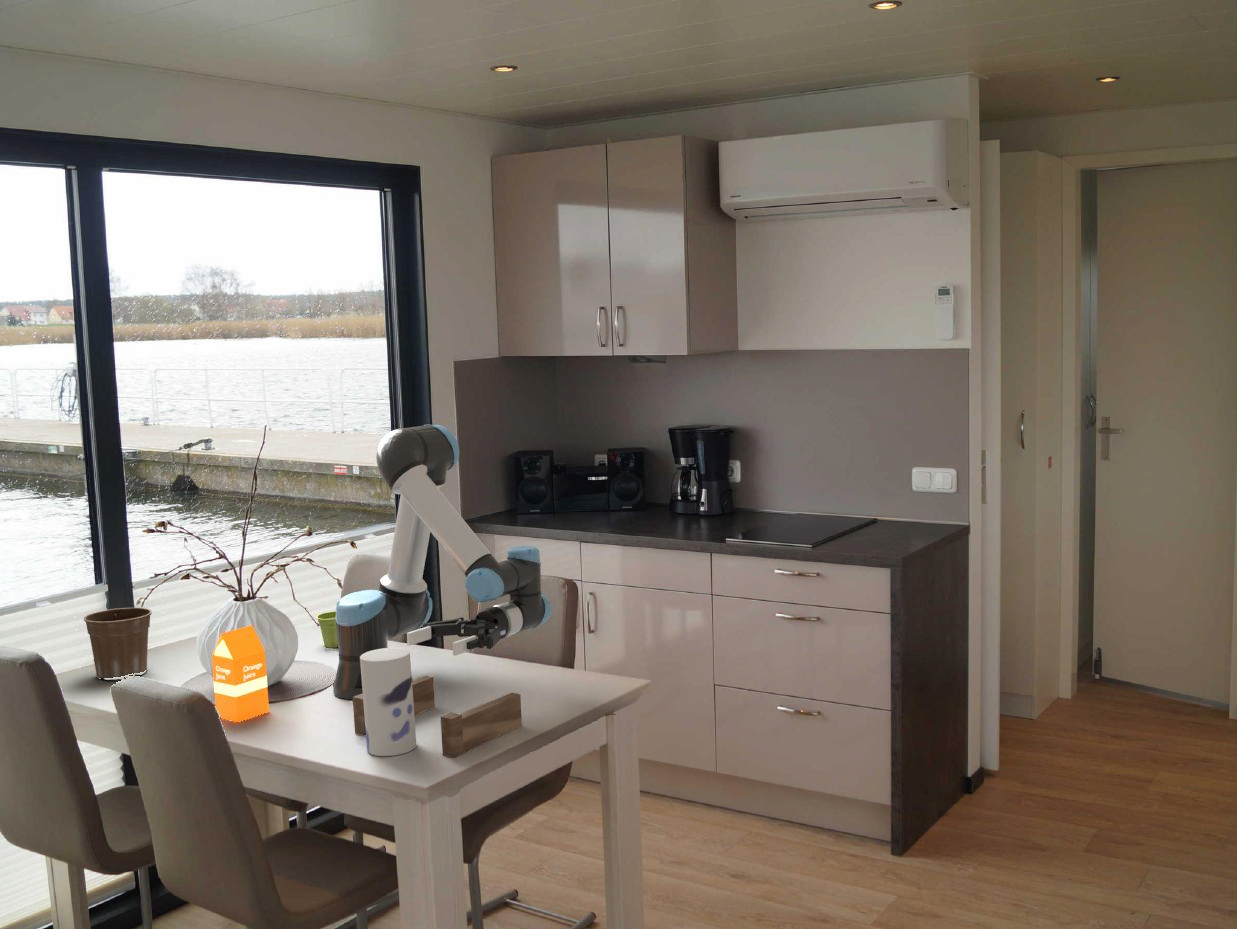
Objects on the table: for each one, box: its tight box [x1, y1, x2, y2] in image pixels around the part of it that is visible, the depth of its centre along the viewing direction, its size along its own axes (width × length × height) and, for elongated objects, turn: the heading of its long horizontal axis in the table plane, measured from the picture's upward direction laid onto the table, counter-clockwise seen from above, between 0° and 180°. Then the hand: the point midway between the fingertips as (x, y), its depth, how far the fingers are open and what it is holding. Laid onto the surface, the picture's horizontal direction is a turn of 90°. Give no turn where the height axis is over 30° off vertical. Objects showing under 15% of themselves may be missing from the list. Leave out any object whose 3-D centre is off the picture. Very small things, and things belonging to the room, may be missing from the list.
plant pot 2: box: [315, 610, 338, 649], centre depth 318 cm, size 9×9×9 cm
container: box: [360, 647, 417, 757], centre depth 233 cm, size 10×10×20 cm
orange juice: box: [211, 624, 270, 723], centre depth 258 cm, size 8×9×20 cm
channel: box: [352, 675, 523, 758], centre depth 244 cm, size 29×22×8 cm
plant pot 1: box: [83, 607, 153, 678], centre depth 295 cm, size 16×16×16 cm
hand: (430, 644), depth 240 cm, fingers open, 13 cm apart
